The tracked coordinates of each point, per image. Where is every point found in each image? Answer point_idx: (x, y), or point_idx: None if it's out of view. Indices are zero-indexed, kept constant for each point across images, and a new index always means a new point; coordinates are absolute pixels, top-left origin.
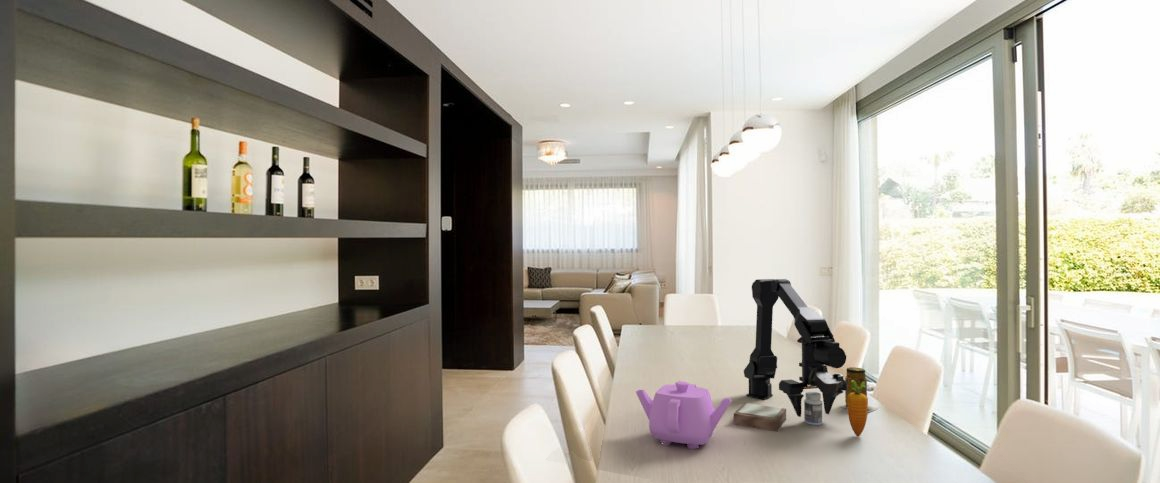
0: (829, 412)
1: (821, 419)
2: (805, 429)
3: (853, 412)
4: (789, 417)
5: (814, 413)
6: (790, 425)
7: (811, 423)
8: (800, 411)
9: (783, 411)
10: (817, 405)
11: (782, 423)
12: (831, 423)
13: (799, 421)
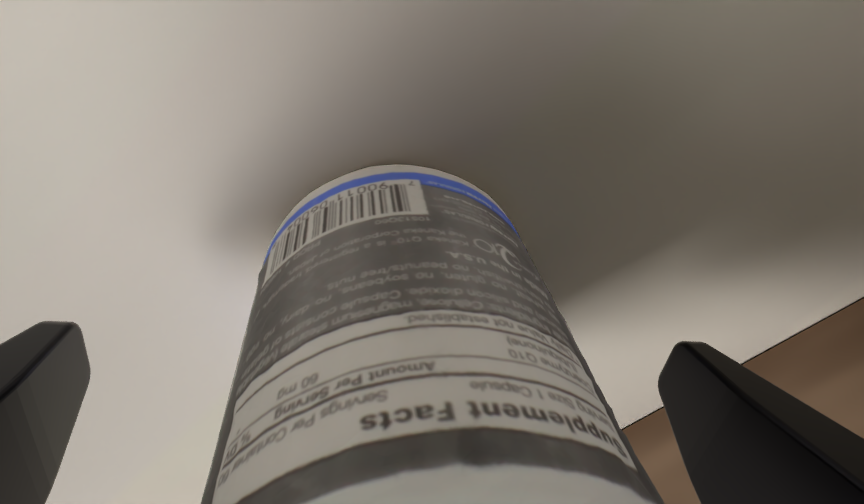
0: (14, 338)
1: (338, 211)
2: (783, 69)
3: None
4: None
5: (535, 294)
6: (773, 275)
7: (509, 220)
8: (776, 403)
9: None
10: (524, 441)
11: (833, 329)
12: (117, 155)
13: None
